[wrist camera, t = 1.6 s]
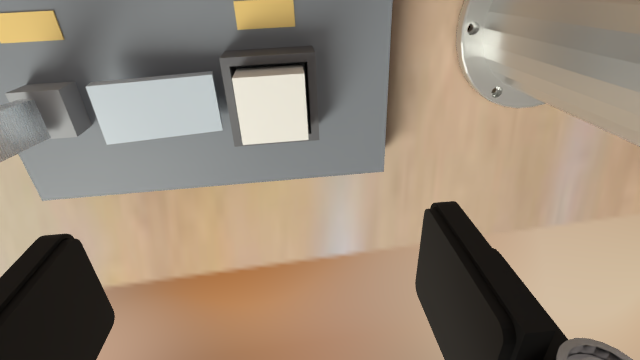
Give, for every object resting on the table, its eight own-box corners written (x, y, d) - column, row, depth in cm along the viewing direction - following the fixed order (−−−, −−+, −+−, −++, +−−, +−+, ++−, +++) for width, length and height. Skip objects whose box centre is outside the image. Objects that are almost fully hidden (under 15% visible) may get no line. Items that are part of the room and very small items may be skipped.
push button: (301, 64, 22) (304, 73, 20) (305, 125, 24) (308, 140, 22) (236, 68, 22) (231, 78, 20) (245, 130, 24) (242, 144, 21)
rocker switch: (212, 71, 22) (212, 74, 21) (222, 125, 24) (222, 130, 23) (90, 82, 21) (85, 86, 20) (111, 138, 23) (106, 144, 22)
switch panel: (381, -32, 24) (407, -36, 19) (374, 155, 31) (392, 187, 26) (-26, -13, 22) (-109, -11, 18) (63, 180, 29) (21, 220, 24)
